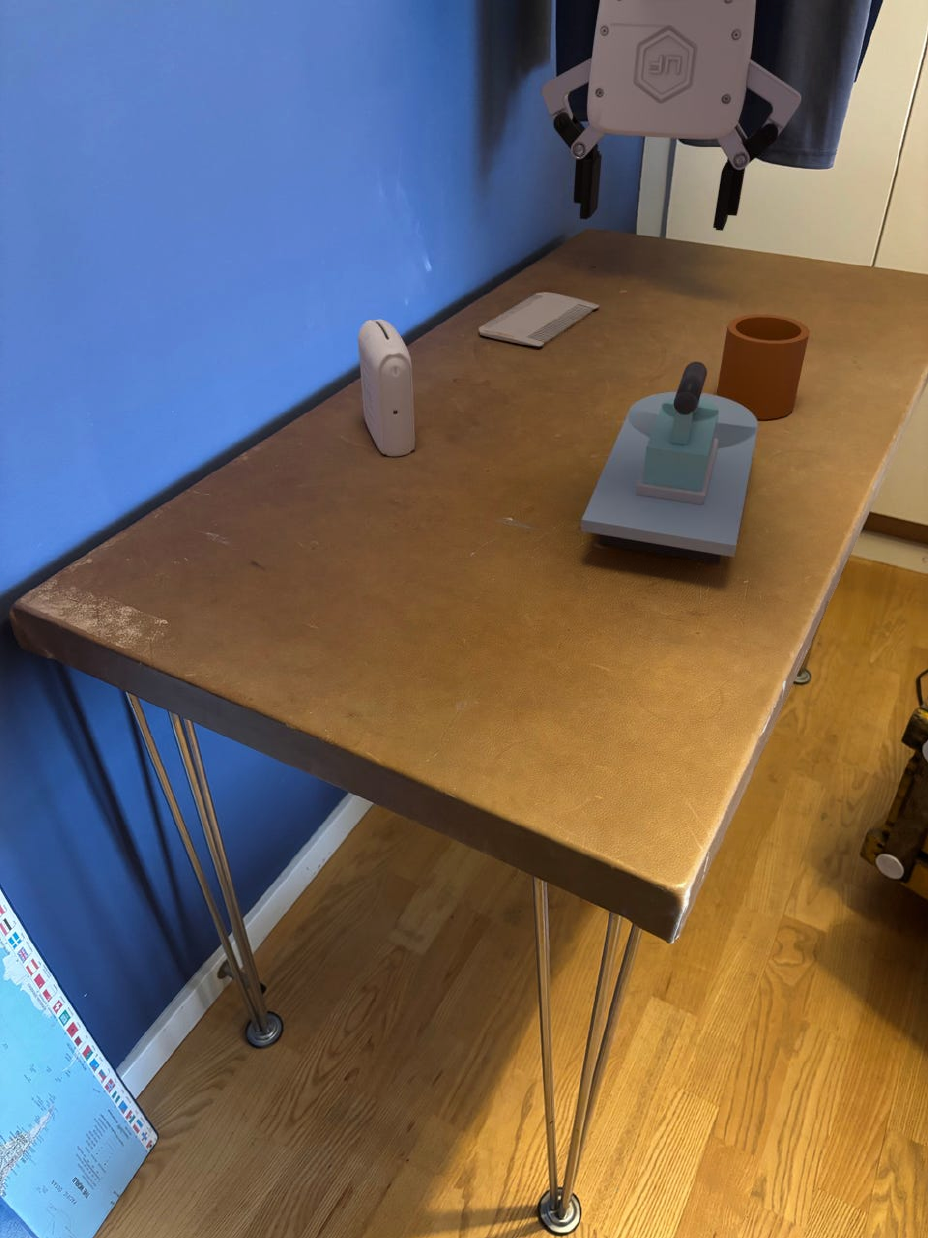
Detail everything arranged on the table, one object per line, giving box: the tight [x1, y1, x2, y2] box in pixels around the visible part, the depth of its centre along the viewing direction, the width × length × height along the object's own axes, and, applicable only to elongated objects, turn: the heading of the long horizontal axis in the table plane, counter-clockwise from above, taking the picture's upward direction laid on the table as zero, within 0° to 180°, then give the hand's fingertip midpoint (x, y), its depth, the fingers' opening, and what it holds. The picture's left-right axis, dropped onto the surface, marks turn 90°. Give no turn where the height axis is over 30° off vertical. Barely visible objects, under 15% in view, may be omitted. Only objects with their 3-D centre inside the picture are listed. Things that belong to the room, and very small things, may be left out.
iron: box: [635, 361, 719, 505], centre depth 82 cm, size 12×6×9 cm, turn 161°
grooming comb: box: [478, 291, 601, 348], centre depth 127 cm, size 18×10×1 cm, turn 147°
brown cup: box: [716, 314, 811, 420], centre depth 105 cm, size 9×12×9 cm
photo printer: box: [357, 318, 416, 457], centre depth 97 cm, size 10×4×12 cm, turn 17°
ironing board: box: [580, 391, 759, 565], centre depth 89 cm, size 13×28×5 cm, turn 161°
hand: (653, 219), depth 67 cm, fingers open, 9 cm apart
